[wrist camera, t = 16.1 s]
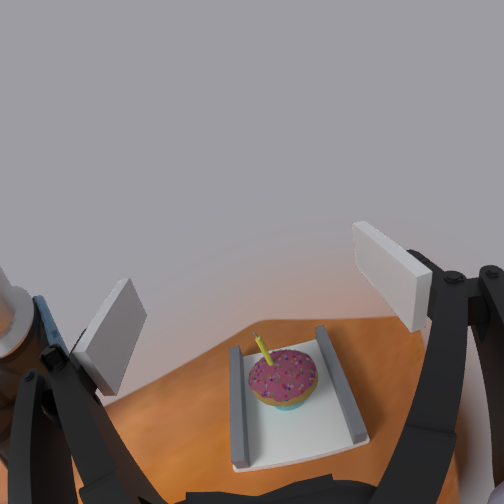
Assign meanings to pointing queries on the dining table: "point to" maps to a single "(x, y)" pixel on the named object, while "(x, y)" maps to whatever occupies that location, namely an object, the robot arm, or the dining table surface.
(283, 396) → the cupcake
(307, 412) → the rail board
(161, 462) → the dining table surface
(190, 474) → the dining table surface
